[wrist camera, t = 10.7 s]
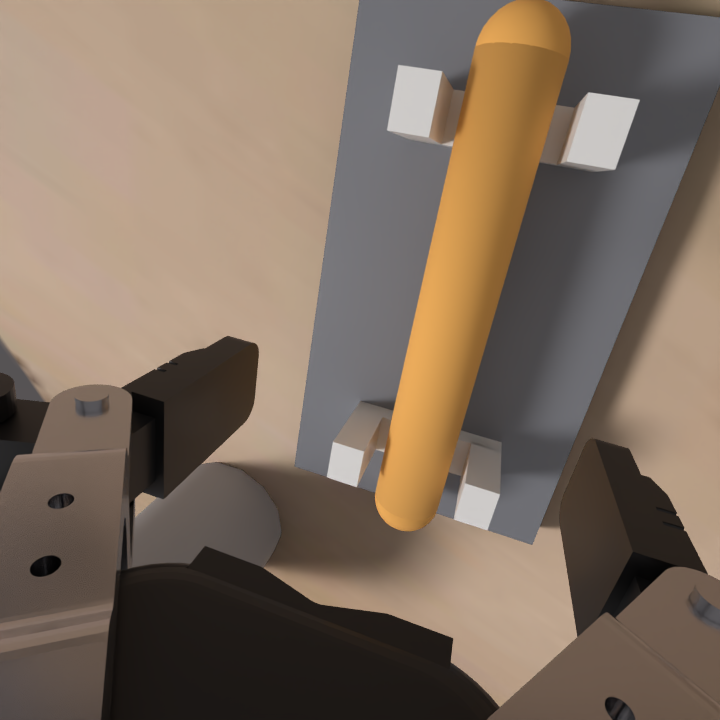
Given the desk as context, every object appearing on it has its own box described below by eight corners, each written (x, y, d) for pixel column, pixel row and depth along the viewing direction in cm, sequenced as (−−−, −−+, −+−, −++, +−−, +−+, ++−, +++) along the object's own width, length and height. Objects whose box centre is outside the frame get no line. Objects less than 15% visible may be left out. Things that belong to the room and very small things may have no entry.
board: (304, 453, 30) (259, 513, 25) (372, -9, 21) (323, -76, 15) (530, 526, 27) (536, 612, 22) (728, 32, 18) (823, -32, 12)
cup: (302, 548, 33) (224, 687, 24) (216, 572, 36) (119, 702, 27) (238, 446, 31) (129, 553, 22) (155, 481, 35) (31, 586, 26)
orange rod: (435, 513, 26) (425, 554, 23) (379, 493, 26) (362, 531, 24) (579, 20, 17) (592, -13, 14) (489, 10, 18) (484, -24, 15)
